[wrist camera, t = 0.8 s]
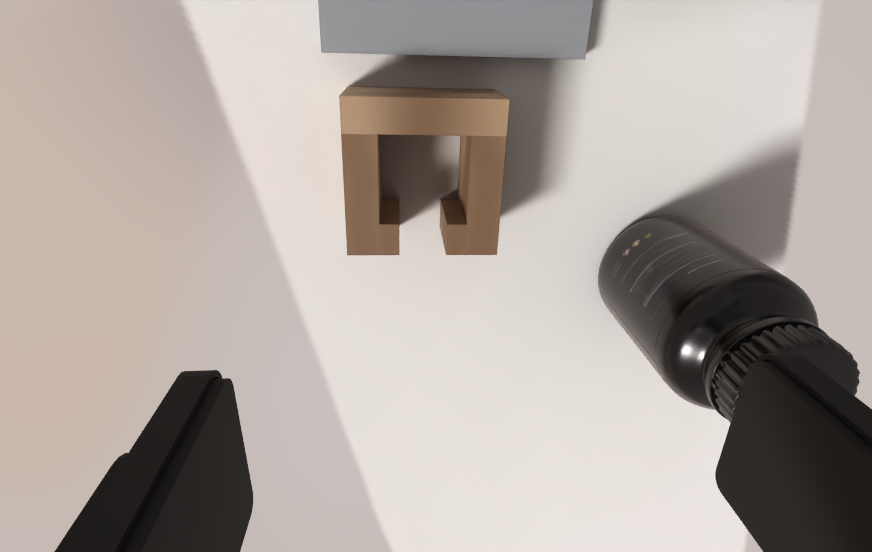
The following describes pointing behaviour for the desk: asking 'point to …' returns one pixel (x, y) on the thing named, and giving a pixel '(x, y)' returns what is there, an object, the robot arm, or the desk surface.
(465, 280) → the desk surface
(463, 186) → the wooden arch block
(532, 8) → the post base
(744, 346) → the supplement bottle
